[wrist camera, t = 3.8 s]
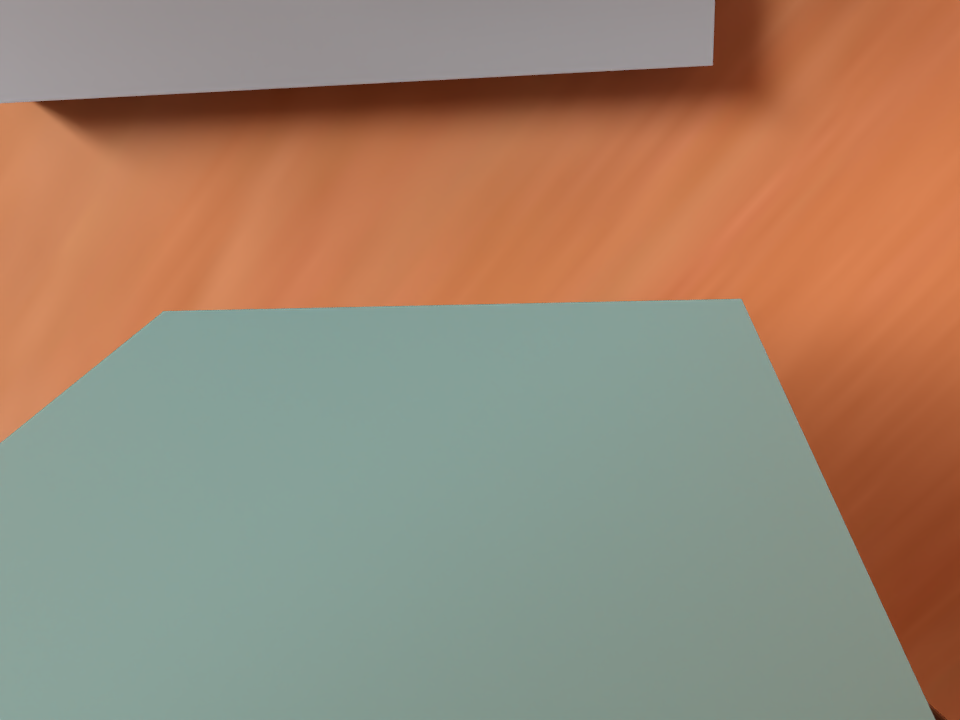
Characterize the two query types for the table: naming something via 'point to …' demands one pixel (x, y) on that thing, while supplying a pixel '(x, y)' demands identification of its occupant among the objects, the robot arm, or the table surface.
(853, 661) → the teal cube
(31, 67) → the plate
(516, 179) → the table surface
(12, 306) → the table surface
